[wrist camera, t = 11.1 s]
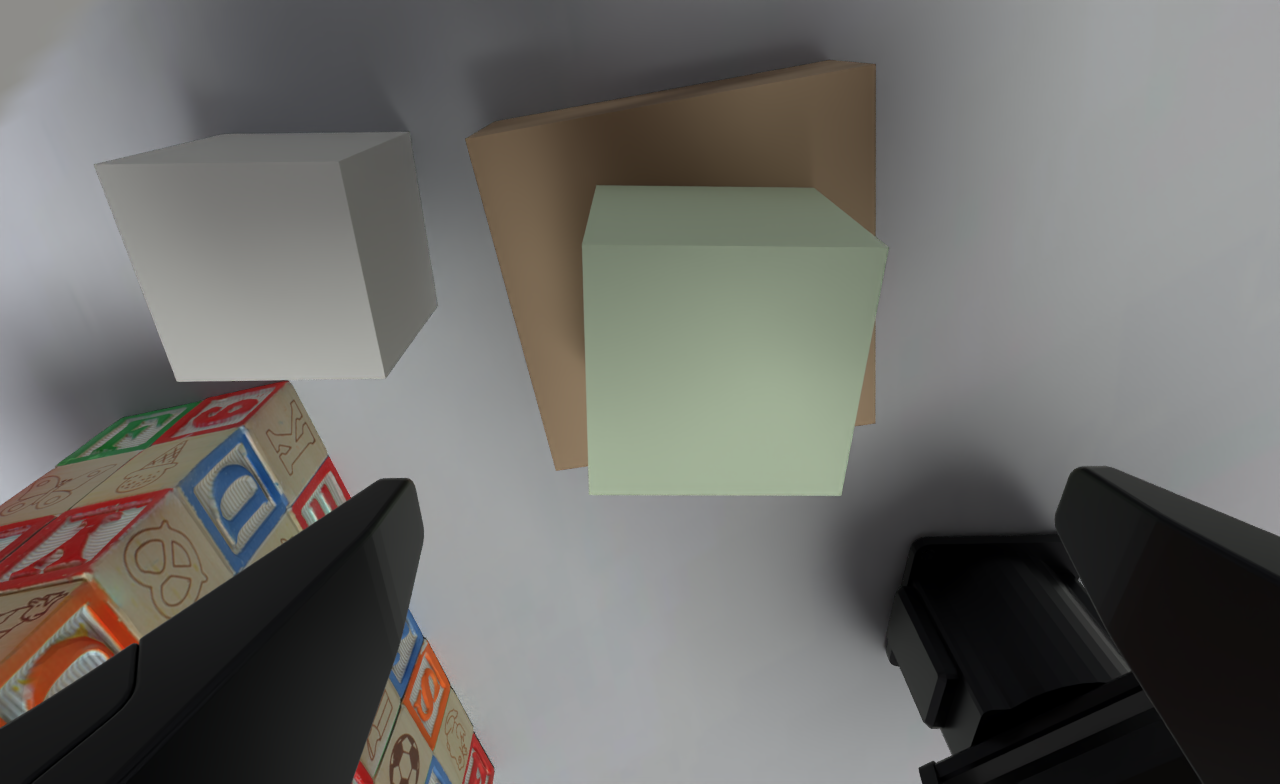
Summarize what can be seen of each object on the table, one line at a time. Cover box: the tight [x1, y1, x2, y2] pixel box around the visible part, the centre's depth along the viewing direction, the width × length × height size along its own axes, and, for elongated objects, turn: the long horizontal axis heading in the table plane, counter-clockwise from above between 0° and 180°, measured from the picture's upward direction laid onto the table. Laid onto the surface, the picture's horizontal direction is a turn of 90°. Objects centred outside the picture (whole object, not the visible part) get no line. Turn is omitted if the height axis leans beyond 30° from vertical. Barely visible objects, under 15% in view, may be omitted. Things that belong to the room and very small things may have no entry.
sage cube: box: [582, 185, 889, 496], centre depth 14 cm, size 5×5×5 cm
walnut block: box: [465, 60, 876, 471], centre depth 18 cm, size 9×9×4 cm
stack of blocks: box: [0, 381, 495, 784], centre depth 21 cm, size 21×6×12 cm, turn 13°
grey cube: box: [94, 132, 438, 382], centre depth 17 cm, size 5×5×5 cm
